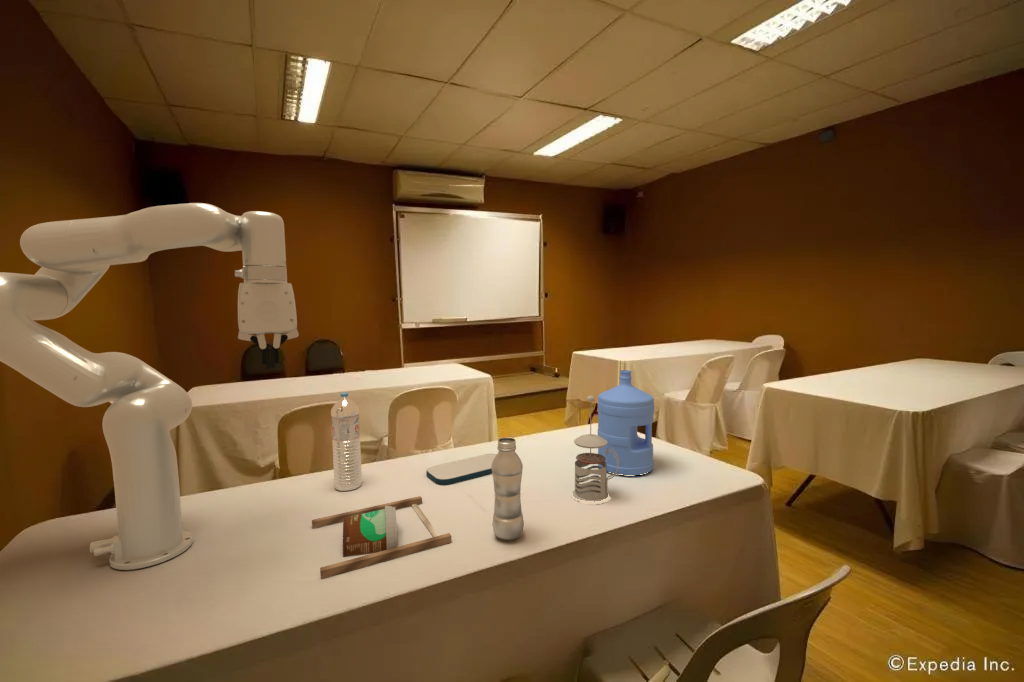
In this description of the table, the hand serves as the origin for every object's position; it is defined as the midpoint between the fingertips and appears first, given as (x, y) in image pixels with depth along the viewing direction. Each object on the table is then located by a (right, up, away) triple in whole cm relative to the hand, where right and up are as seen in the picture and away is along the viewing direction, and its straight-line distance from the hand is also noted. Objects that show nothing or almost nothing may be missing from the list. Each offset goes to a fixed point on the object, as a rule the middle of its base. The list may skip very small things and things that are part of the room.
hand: (271, 367), depth 89 cm
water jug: (+81, -31, +38) cm, 95 cm away
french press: (+69, -33, +19) cm, 79 cm away
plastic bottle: (+48, -35, +1) cm, 59 cm away
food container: (+15, -32, -2) cm, 35 cm away
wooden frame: (+21, -35, +2) cm, 41 cm away
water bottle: (+6, -33, +27) cm, 43 cm away
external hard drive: (+37, -32, +37) cm, 61 cm away
